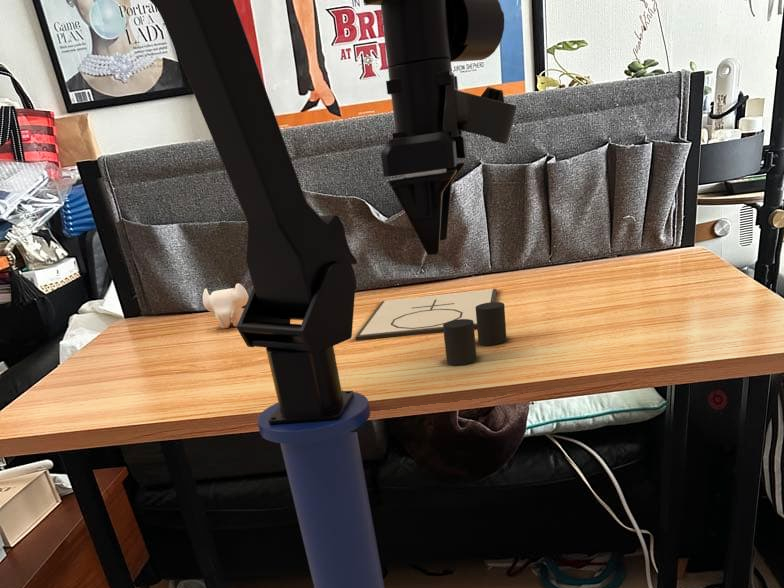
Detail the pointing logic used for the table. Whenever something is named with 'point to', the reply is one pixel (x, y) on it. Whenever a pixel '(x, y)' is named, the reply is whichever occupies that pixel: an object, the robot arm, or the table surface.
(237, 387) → the table surface
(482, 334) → the eye puck
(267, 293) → the robot arm
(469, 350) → the eye puck
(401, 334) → the sketch board
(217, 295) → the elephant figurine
